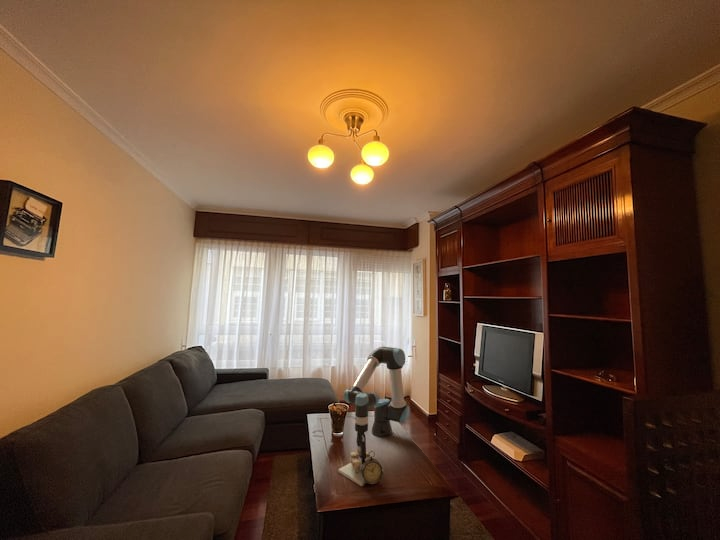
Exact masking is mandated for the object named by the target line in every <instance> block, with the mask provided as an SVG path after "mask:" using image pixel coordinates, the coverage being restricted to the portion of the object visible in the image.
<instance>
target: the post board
mask: <svg viewBox="0 0 720 540" xmlns="http://www.w3.org/2000/svg"><path fill="white" fill-rule="evenodd" d="M358 459H360V457H358ZM382 470H383V471H384V469H383V468H382ZM337 472H338V474H341V475H342V476H344V477H345V478H347V479H348V480H350V481H352V482H354V483H355V484H357V485H359V486H360V487H363V486H364V484H365V480H364V479H363V476H362V474H361V470H353V469H352V464H351V462H349V463H348V464H346V465H344V466H342V467H340V468H338V471H337ZM365 485H366V484H365Z"/></svg>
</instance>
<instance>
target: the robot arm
mask: <svg viewBox="0 0 720 540" xmlns="http://www.w3.org/2000/svg"><path fill="white" fill-rule="evenodd" d="M380 364H381V365H382V364H385V365H386V369H388V372H389V382H390V395H391V400H390V399H389V398H380V397H379V395H378V394H377V393H376V392H369V393H367V392H364V390H365V388H366V387H367V385H368V383H369V382H370V379H371V378H372V376H373V374H374V372H375V371H376V368H378V367H379V366H380ZM405 364H406V354H405V351H404V350H403V349H402V348H399V347H391V346H379V347H377V348H375V349H373V351H372V352H371V353H370V354H369V355H368V357H367V361H366V363H365V364H364V366H363V368H362V370H361V371H360V373H359V375H358V376H357V378H356V379H355V381H354V383H353V385H352V386H351V388H347V389H345V390H344V392H343V401H344V402H347V403H349V404H353V405H355V408H354V409H355V410H354V411H355V412H354V413H355V414H354V417H353V418H354V422H355V423H354V430H355V432H357V433H356V452H361V456H360V470H361V468H362V465H363V463H364V462H365V458H366V451H367V445H366V444H367V443H366V442H367V437H366V432H368V430H369V424H368V423H369V410H370V409H372V408H373V409H374V412H373V413H374V415H373V418H374V420H373V423H372V427H371V433H372V435H373V436H376V437H379V438H380V437H381V438H386V437H389V436H390V437H391V436H392V434H393V429H392V424H391V421H392V422H396V423H399V424H406V423H407V422H408V420H409V418H410V413H411V407H410V406H409V405H407V401H406V400H405V398H404V389H403V385H404V384H403V376H402V368H403V367H404V366H405Z"/></svg>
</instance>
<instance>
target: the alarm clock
mask: <svg viewBox="0 0 720 540" xmlns="http://www.w3.org/2000/svg"><path fill="white" fill-rule="evenodd" d="M371 453H373V456H371ZM369 454H370V456H369V457H370V459H367V460H366V461H365V462H364V463H363V465H362V468H361V474H362V476H363V479H364V480H365V484H364V485H363V486H366V484H368V485H375V484H377V483H379V484H381V482H380V481H381V479H382V476H383V473H384V469H383V467H382V465H381V463H380V462H379V460H378V459H376V458H373V457H375V452H374V451H373V450H371V451H369ZM382 469H383V470H382Z"/></svg>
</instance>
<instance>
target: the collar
mask: <svg viewBox="0 0 720 540" xmlns="http://www.w3.org/2000/svg"><path fill="white" fill-rule="evenodd" d="M369 452H370V451H369V450H366V458H365V461H366V460H367V459H370V457H371V453H370V454H369ZM360 456H361V452H357V451H351V452H349V461H350V463H351V464H352V469H353V470H360V459H358V457H360ZM369 456H370V457H369Z"/></svg>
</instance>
